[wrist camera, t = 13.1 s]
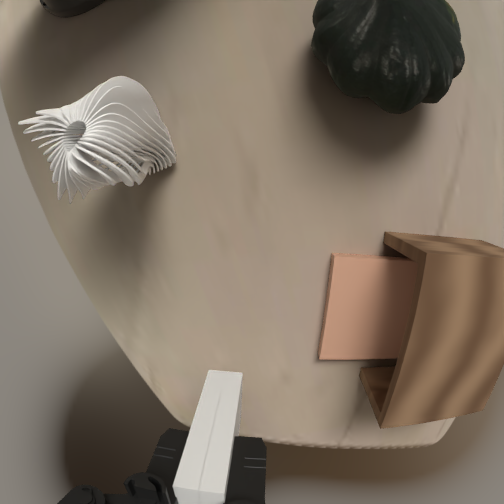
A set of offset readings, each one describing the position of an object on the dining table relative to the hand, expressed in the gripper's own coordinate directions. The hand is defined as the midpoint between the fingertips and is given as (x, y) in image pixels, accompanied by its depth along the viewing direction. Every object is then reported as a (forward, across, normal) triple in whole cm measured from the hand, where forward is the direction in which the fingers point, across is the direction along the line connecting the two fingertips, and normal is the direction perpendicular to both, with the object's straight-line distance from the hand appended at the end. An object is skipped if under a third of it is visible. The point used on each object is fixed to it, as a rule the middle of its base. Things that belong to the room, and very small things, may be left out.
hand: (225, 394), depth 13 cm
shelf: (+20, +21, -4) cm, 30 cm away
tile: (+21, +17, -4) cm, 27 cm away
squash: (+21, +12, +24) cm, 34 cm away
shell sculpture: (+21, -11, +12) cm, 26 cm away
